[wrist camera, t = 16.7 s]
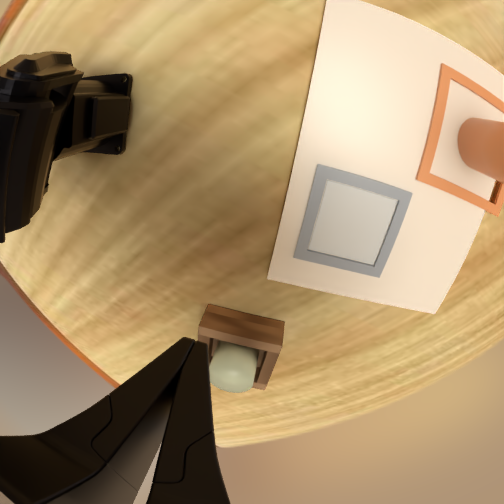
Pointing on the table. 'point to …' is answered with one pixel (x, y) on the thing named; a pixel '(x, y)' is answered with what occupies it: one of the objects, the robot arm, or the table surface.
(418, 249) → the picture sheet
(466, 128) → the marker
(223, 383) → the button
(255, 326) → the button base
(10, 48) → the table surface
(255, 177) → the table surface
